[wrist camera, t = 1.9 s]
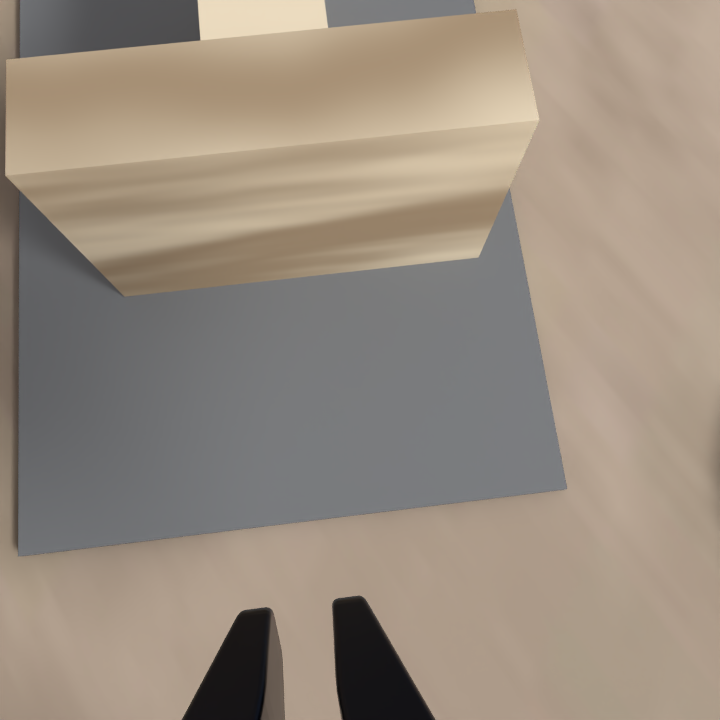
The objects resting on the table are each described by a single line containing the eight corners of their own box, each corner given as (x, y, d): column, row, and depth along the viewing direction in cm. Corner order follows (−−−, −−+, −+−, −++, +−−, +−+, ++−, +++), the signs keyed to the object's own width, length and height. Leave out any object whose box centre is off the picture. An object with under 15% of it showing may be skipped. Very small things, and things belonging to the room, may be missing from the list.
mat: (563, 489, 22) (567, 488, 21) (24, 555, 21) (18, 556, 21) (443, -139, 28) (445, -148, 28) (25, -101, 27) (20, -110, 27)
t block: (478, 257, 23) (539, 119, 15) (124, 296, 23) (5, 175, 15) (431, -11, 26) (463, -243, 18) (114, 20, 26) (8, -204, 18)
